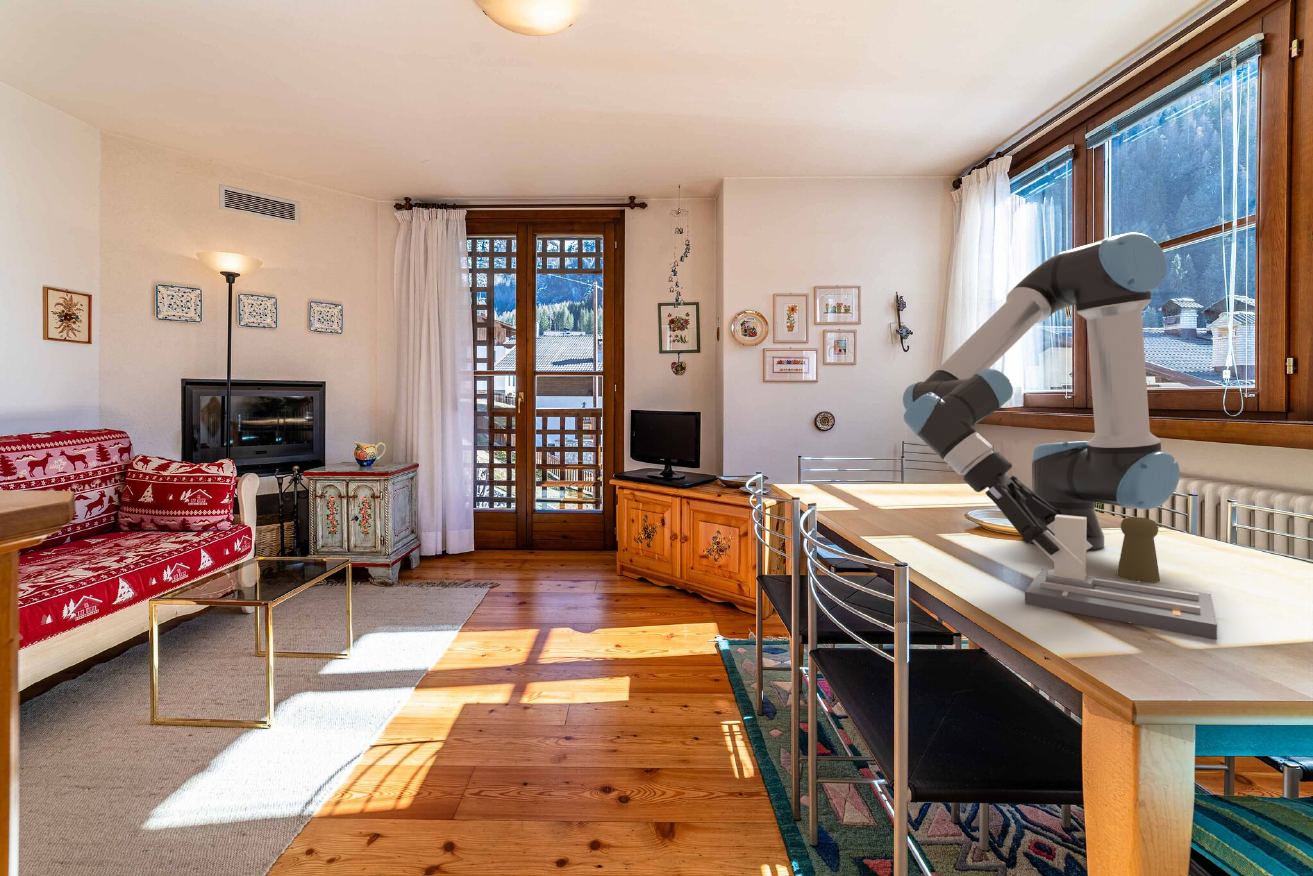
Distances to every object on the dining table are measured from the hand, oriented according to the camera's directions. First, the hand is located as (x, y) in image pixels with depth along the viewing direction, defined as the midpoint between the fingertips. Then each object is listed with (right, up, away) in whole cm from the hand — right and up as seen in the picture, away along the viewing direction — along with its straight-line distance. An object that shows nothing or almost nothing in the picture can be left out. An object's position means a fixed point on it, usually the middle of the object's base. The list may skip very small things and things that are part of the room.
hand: (1080, 559), depth 92 cm
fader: (-1, -4, +1) cm, 5 cm away
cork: (+19, -6, +11) cm, 22 cm away
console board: (+4, -7, -3) cm, 8 cm away
